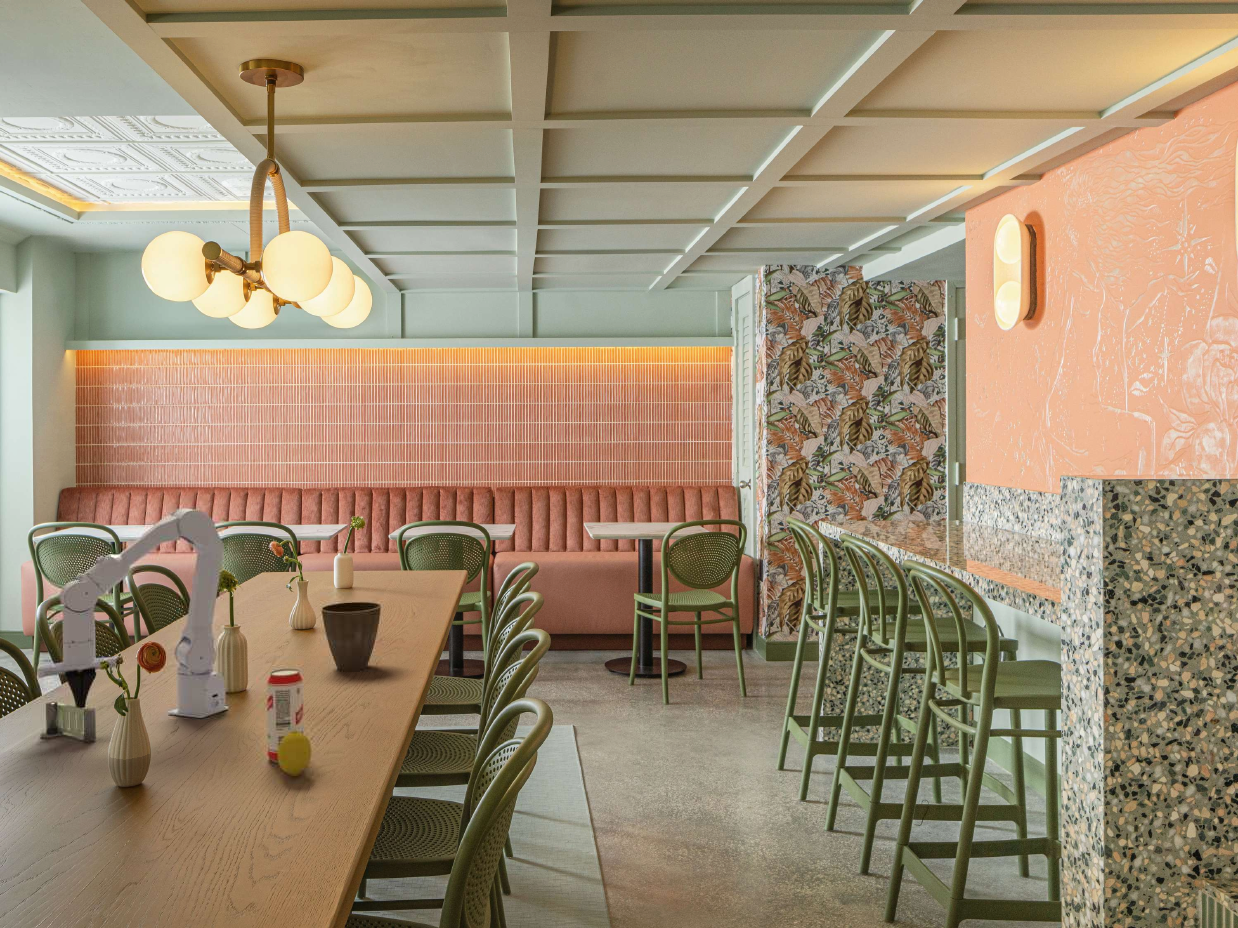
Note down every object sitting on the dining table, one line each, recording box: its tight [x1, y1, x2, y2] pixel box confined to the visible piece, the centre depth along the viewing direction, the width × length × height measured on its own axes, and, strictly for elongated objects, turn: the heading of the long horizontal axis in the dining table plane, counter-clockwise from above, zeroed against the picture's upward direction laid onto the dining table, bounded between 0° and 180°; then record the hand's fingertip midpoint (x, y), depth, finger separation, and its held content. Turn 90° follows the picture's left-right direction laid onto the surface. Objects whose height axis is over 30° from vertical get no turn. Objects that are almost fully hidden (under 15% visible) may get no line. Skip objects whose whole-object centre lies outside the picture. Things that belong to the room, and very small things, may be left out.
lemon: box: [278, 730, 312, 777], centre depth 165 cm, size 6×6×8 cm
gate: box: [58, 702, 97, 742], centre depth 188 cm, size 12×2×6 cm, turn 59°
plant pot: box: [320, 601, 382, 672], centre depth 246 cm, size 15×15×16 cm
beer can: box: [266, 668, 305, 764], centre depth 174 cm, size 6×6×16 cm
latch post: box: [39, 701, 65, 740], centre depth 189 cm, size 4×4×6 cm
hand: (80, 707), depth 192 cm, fingers closed
